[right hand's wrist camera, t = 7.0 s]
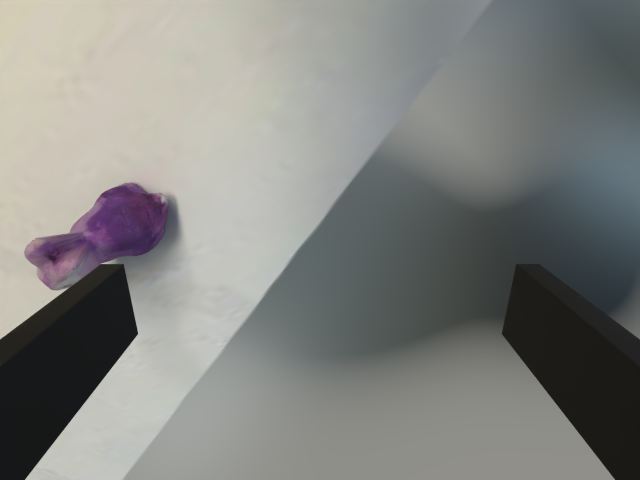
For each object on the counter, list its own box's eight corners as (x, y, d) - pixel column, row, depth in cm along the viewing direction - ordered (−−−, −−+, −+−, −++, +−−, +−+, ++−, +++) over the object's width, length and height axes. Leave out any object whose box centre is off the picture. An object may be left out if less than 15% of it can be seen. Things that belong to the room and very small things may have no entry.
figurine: (94, 249, 48) (-1, 312, 33) (95, 172, 44) (-10, 206, 30) (168, 265, 48) (105, 332, 34) (175, 190, 45) (109, 231, 31)
